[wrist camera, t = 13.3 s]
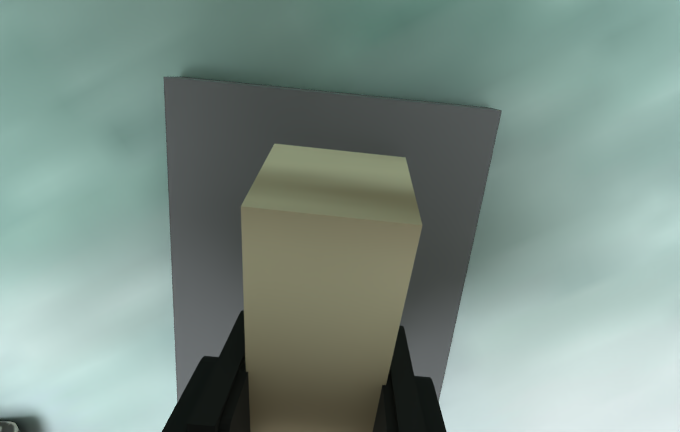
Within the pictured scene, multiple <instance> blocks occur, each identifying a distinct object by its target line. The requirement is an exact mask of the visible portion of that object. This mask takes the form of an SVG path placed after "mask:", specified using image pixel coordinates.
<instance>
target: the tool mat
mask: <svg viewBox="0 0 680 432" xmlns="http://www.w3.org/2000/svg"><path fill="white" fill-rule="evenodd" d="M164 95H165V119H166V142H167V166H168V190H169V214H170V237H171V261H172V285H173V308H174V332H175V356H176V380H177V403H178V401H179V399H180V397H181V395H182V393H183V391H184V390H185V388H186V386H187V384H188V382H189V380H190V378H191V377H192V375H193V373H194V371H195V369H196V367H197V365H198V364H199V362H200V360H201V359H202V357H204V356H213V357H219V355H220V353H221V351H222V349H223V347H224V345H225V343H226V341H227V339H228V337H229V335H230V332H231V330H232V328H233V326H234V324H235V322H236V320H237V318H238V316H239V314H240V312H241V311H242V310H243V311H244V296H243V263H242V230H241V205H242V203H243V201H244V199H245V198H246V196H247V194H248V192H249V190H250V188H251V186H252V185H253V183H254V181H255V179H256V177H257V175H258V173H259V171H260V170H261V168H262V166H263V164H264V162H265V160H266V158H267V157H268V155H269V153H270V151H271V149H272V147H273V145H274V144H283V145H293V146H302V147H312V148H321V149H331V150H340V151H349V152H359V153H368V154H378V155H387V156H396V157H406V161H407V165H408V169H409V173H410V177H411V181H412V185H413V189H414V193H415V197H416V201H417V205H418V209H419V213H420V217H421V221H422V230H421V234H420V238H419V243H418V247H417V252H416V256H415V260H414V265H413V269H412V273H411V278H410V282H409V286H408V291H407V295H406V300H405V304H404V308H403V313H402V317H401V321H400V326H404V329H405V334H406V339H407V343H408V348H409V353H410V358H411V362H412V367H413V372H414V376H422V377H430V378H431V379H432V381H433V384H434V387H435V391H436V395H437V399H438V402H439V397H440V392H441V388H442V383H443V379H444V374H445V369H446V365H447V360H448V356H449V351H450V346H451V342H452V337H453V333H454V328H455V323H456V319H457V314H458V310H459V305H460V300H461V296H462V291H463V286H464V282H465V277H466V273H467V268H468V263H469V259H470V254H471V250H472V245H473V240H474V236H475V231H476V227H477V222H478V217H479V213H480V208H481V204H482V199H483V194H484V190H485V185H486V181H487V176H488V171H489V167H490V162H491V158H492V153H493V148H494V144H495V139H496V135H497V130H498V125H499V121H500V116H501V110H497V109H492V108H487V107H477V106H467V105H457V104H447V103H437V102H427V101H417V100H407V99H397V98H387V97H377V96H367V95H357V94H347V93H337V92H327V91H317V90H307V89H297V88H287V87H277V86H267V85H257V84H247V83H237V82H227V81H217V80H207V79H197V78H187V77H164Z"/></svg>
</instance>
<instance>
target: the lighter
mask: <svg viewBox="0 0 680 432" xmlns="http://www.w3.org/2000/svg"><path fill="white" fill-rule="evenodd" d="M0 432H20V431H19V429H18V427H17V425H16V423H14V422H10V421H0Z"/></svg>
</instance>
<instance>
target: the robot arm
mask: <svg viewBox="0 0 680 432" xmlns="http://www.w3.org/2000/svg"><path fill="white" fill-rule="evenodd" d="M162 432H250V405H249V378H248V372H246V362H245V329H244V311H243V310H242V311H241V312H240V314H239V316H238V318H237V320H236V322H235V324H234V326H233V328H232V330H231V332H230V335H229V337H228V339H227V341H226V343H225V345H224V347H223V349H222V351H221V353H220V355H219V357H213V356H204V357H202V359H201V360H200V362H199V364H198V365H197V367H196V369H195V371H194V373H193V375H192V377H191V378H190V380H189V382H188V384H187V386H186V388H185V390H184V391H183V393H182V395H181V397H180V399H179V401H178V403H177V404H176V406H175V408H174V410H173V412H172V414H171V416H170V417H169V419H168V421H167V423H166V425H165V427H164V429H163V431H162ZM373 432H446V428H445V425H444V421H443V417H442V413H441V410H440V406H439V402H438V399H437V395H436V391H435V387H434V384H433V381H432V379H431V378H430V377H422V376H414V372H413V367H412V362H411V358H410V353H409V348H408V343H407V339H406V334H405V329H404V326H399V330H398V335H397V339H396V343H395V348H394V352H393V356H392V361H391V365H390V370H389V374H388V378H387V383H386V385H382V389H381V394H380V399H379V403H378V408H377V413H376V418H375V422H374V427H373Z"/></svg>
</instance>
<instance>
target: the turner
mask: <svg viewBox="0 0 680 432" xmlns="http://www.w3.org/2000/svg"><path fill="white" fill-rule="evenodd" d="M241 230H242V263H243V296H244V329H245V362H246V372H248V378H249V405H250V432H373V427H374V422H375V418H376V413H377V408H378V403H379V399H380V394H381V389H382V385H386V383H387V378H388V374H389V370H390V365H391V361H392V356H393V352H394V348H395V343H396V339H397V335H398V330H399V326H400V321H401V317H402V313H403V308H404V304H405V300H406V295H407V291H408V286H409V282H410V278H411V273H412V269H413V265H414V260H415V256H416V252H417V247H418V243H419V238H420V234H421V230H422V221H421V217H420V213H419V209H418V205H417V201H416V197H415V193H414V189H413V185H412V181H411V177H410V173H409V169H408V165H407V161H406V157H396V156H387V155H378V154H368V153H359V152H349V151H340V150H331V149H321V148H312V147H302V146H293V145H283V144H274V145H273V147H272V149H271V151H270V153H269V155H268V157H267V158H266V160H265V162H264V164H263V166H262V168H261V170H260V171H259V173H258V175H257V177H256V179H255V181H254V183H253V185H252V186H251V188H250V190H249V192H248V194H247V196H246V198H245V199H244V201H243V203H242V205H241Z"/></svg>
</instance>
